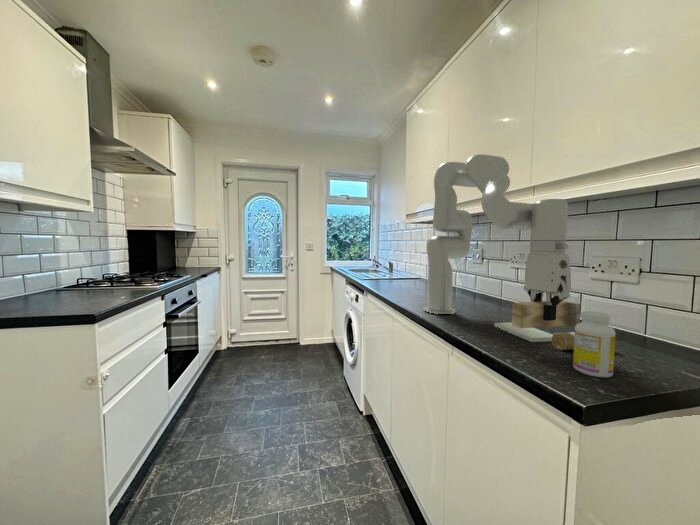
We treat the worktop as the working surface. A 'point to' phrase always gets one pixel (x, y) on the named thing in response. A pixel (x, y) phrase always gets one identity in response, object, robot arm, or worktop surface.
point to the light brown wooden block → (534, 311)
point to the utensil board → (525, 332)
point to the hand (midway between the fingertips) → (543, 317)
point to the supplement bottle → (594, 345)
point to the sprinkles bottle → (563, 340)
